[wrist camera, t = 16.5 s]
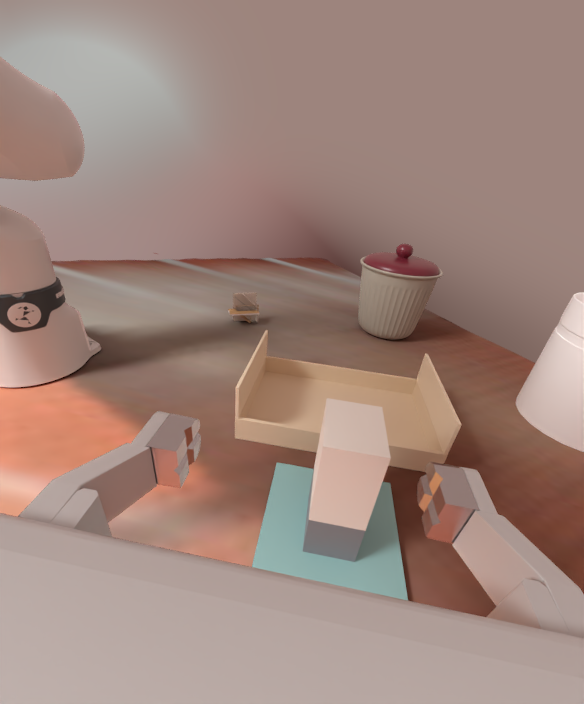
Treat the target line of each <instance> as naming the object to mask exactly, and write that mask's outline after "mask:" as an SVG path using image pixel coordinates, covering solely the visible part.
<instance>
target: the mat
mask: <svg viewBox="0 0 584 704" xmlns="http://www.w3.org/2000/svg"><path fill="white" fill-rule="evenodd" d="M313 470H314V469H311V468H305V467H300V466H294V465H289V464H283V463H278V462H277V464H276V468H275V473H274V477H273V481H272V485H271V489H270V493H269V498H268V502H267V506H266V510H265V514H264V519H263V523H262V527H261V531H260V535H259V539H258V544H257V548H256V552H255V556H254V560H253V564H252V567H254V568H259V569H263V570H268V571H273V572H277V573H282V574H287V575H291V576H296V577H301V578H305V579H310V580H315V581H319V582H324V583H329V584H333V585H338V586H343V587H347V588H352V589H357V590H361V591H366V592H371V593H375V594H380V595H384V596H389V597H394V598H398V599H403V600H408V597H407V590H406V584H405V577H404V571H403V564H402V557H401V551H400V544H399V537H398V531H397V524H396V518H395V511H394V504H393V498H392V491H391V485H390V483H387V482H382V485H381V488H380V491H379V493H378V496H377V499H376V502H375V505H374V508H373V511H372V514H371V516H370V519H369V522H368V525H367V528H366V531H365V534H364V537H363V539H362V542H361V545H360V548H359V551H358V554H357V557H356V559H355V562H352V561H347V560H342V559H337V558H332V557H327V556H322V555H318V554H313V553H308V552H303V543H304V534H305V525H306V516H307V507H308V498H309V492H310V487H311V481H312V476H313Z"/></svg>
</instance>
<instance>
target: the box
mask: <svg viewBox="0 0 584 704" xmlns="http://www.w3.org/2000/svg"><path fill="white" fill-rule="evenodd" d="M390 459H391V457H390V451H389V445H388V439H387V433H386V427H385V421H384V415H383V409H382V407H379V406H373V405H367V404H361V403H354V402H348V401H342V400H336V399H330V398H327V399H326V405H325V410H324V416H323V421H322V427H321V432H320V438H319V443H318V449H317V454H316V460H315V465H314V470H313V476H312V481H311V487H310V492H309V498H308V507H307V516H306V525H305V534H304V543H303V552H308V553H313V554H318V555H322V556H327V557H332V558H337V559H342V560H347V561H352V562H355V559H356V557H357V554H358V551H359V548H360V545H361V542H362V539H363V537H364V534H365V531H366V528H367V525H368V522H369V519H370V516H371V514H372V511H373V508H374V505H375V502H376V499H377V496H378V493H379V491H380V488H381V485H382V482H383V479H384V476H385V473H386V471H387V468H388V465H389V462H390Z"/></svg>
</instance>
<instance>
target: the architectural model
mask: <svg viewBox="0 0 584 704" xmlns="http://www.w3.org/2000/svg"><path fill="white" fill-rule="evenodd" d="M256 296H257V293H233V309H228V311H229V313H230V316H233V321H247V322H249V323H251V320H256V322H257V323H258V314H259V309H258V307H257V306H256Z"/></svg>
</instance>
